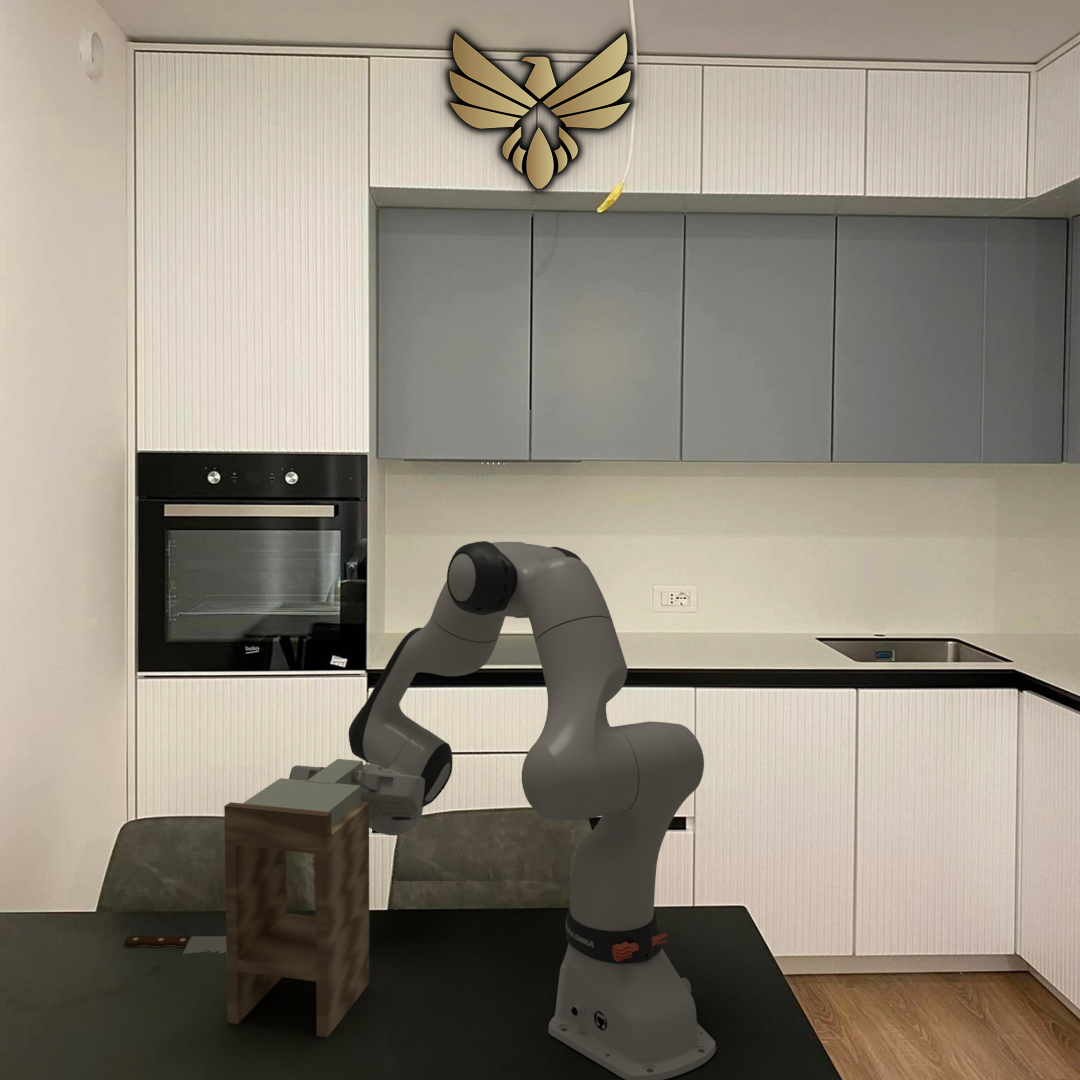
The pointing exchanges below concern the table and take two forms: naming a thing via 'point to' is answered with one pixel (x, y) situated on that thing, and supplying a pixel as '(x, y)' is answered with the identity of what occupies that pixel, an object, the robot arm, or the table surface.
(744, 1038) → the table surface
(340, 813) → the grey paddle board
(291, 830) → the rack
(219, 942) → the kitchen cleaver
